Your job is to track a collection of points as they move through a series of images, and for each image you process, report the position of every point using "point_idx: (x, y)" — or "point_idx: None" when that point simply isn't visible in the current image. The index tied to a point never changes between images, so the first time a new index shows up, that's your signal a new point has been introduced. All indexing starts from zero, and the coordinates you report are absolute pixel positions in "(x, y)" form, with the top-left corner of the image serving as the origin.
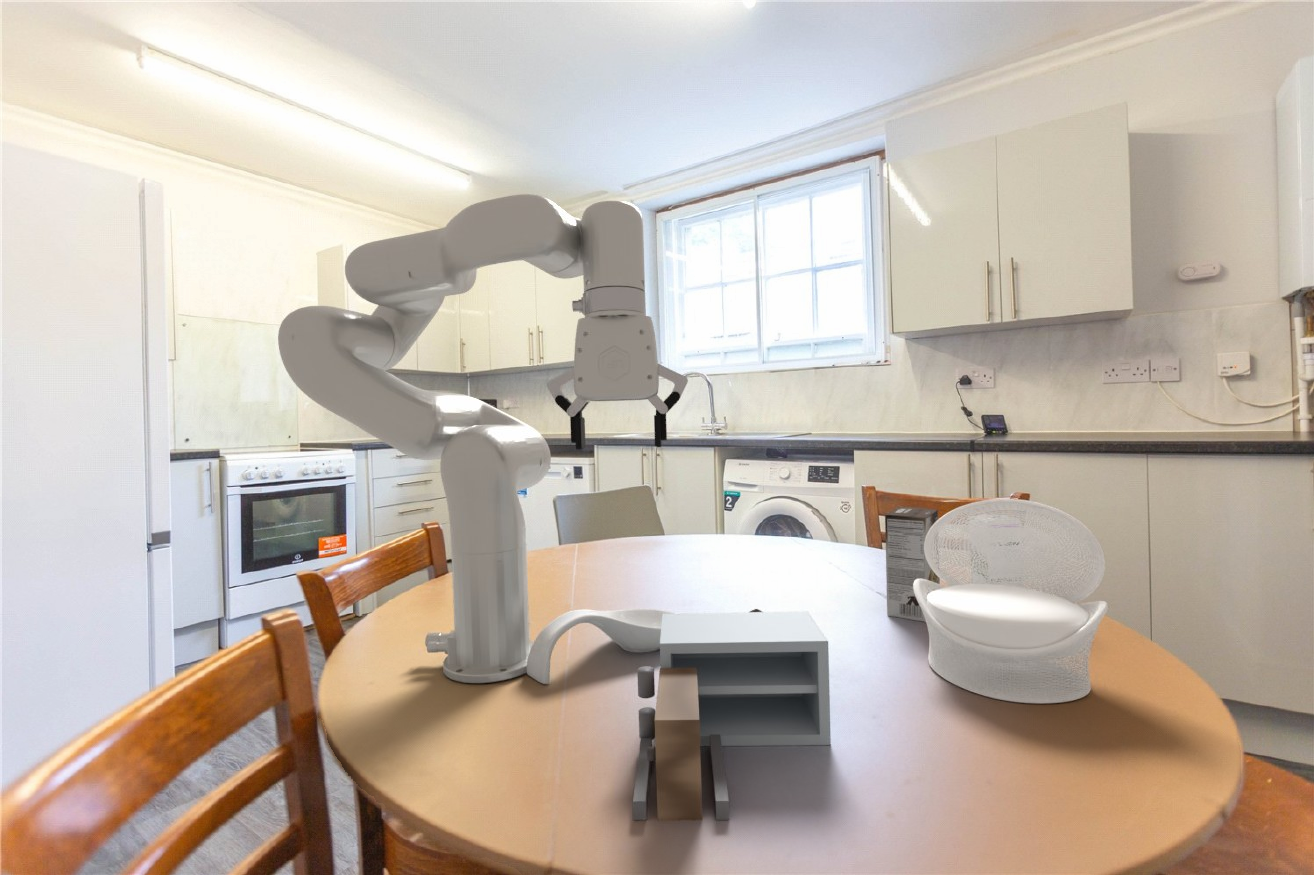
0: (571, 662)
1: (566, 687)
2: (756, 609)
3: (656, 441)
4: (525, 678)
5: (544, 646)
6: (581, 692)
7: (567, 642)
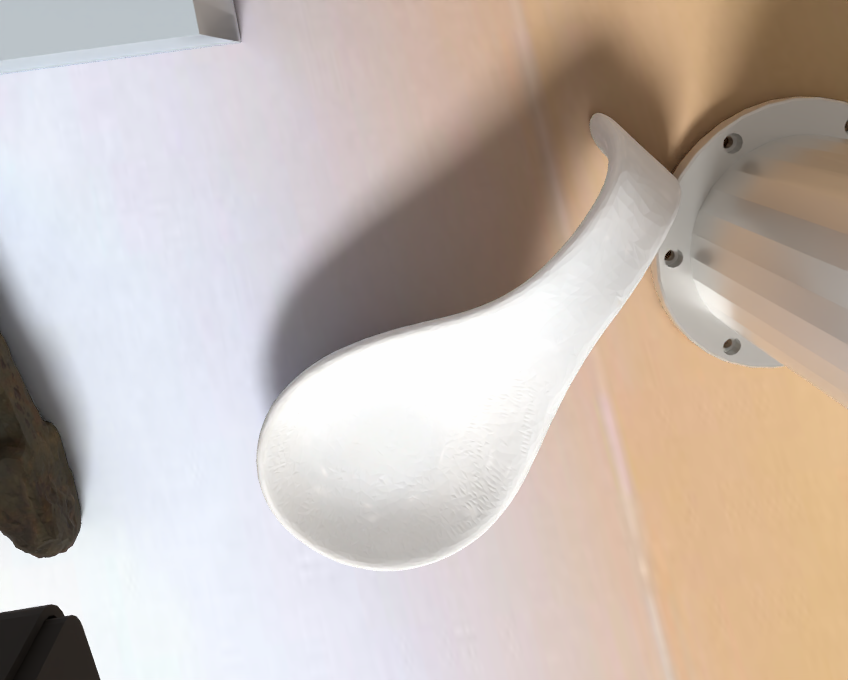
0: None
1: (535, 111)
2: (28, 547)
3: (29, 637)
4: (663, 156)
5: (637, 163)
6: (485, 84)
7: (611, 409)
